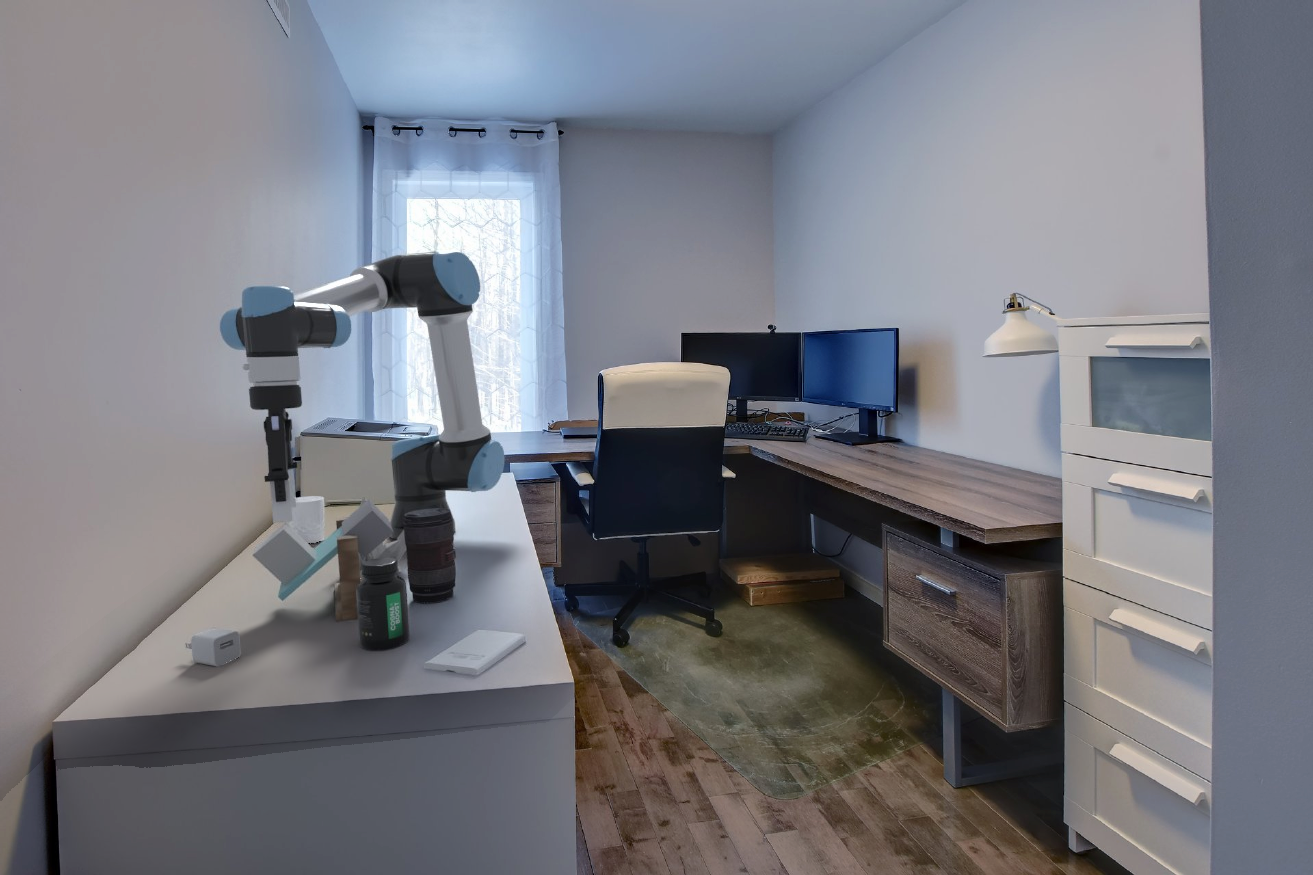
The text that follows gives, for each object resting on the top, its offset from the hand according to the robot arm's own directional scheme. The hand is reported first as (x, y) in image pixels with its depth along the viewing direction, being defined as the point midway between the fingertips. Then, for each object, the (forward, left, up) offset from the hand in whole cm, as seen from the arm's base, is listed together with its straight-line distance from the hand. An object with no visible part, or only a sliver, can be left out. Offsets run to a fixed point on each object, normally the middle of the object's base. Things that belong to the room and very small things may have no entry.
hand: (285, 514), depth 126 cm
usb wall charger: (+10, +18, -16) cm, 26 cm away
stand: (-9, 0, -16) cm, 18 cm away
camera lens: (-22, +4, -16) cm, 28 cm away
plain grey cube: (-2, 0, -9) cm, 9 cm away
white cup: (-1, -55, -16) cm, 57 cm away
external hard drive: (-24, +34, -17) cm, 45 cm away
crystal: (-14, -19, -16) cm, 29 cm away
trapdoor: (-9, 0, -9) cm, 13 cm away
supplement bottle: (-13, +23, -16) cm, 31 cm away
